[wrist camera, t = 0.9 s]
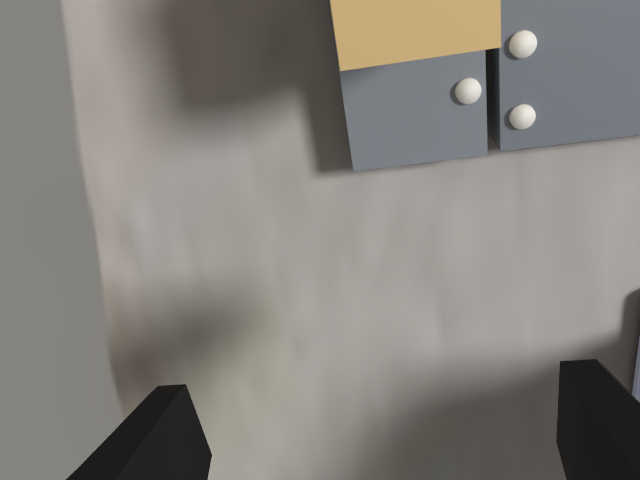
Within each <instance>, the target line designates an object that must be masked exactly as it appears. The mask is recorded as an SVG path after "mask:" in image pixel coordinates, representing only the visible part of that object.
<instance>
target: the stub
mask: <svg viewBox="0 0 640 480" xmlns="http://www.w3.org/2000/svg"><path fill="white" fill-rule="evenodd" d="M329 5H330V12H331V19H332V26H333V33H334V40H335V47H336V54H337V61H338V68H339V75H340V82H341V89H342V96H343V102H344V109H345V116H346V123H347V130H348V137H349V144H350V151H351V158H352V165H353V171H361V170H369V169H378V168H386V167H395V166H403V165H412V164H420V163H428V162H437V161H445V160H454V159H462V158H471V157H479V156H488V144H487V101H486V58H485V50H487V49H493V48H500V47H501V0H329Z"/></svg>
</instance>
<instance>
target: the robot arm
mask: <svg viewBox="0 0 640 480" xmlns="http://www.w3.org/2000/svg"><path fill="white" fill-rule="evenodd" d="M557 445H558V449H559V453H560V456H561V460H562V464H563V468H564V471H565V475H566V478H567V480H640V337H639V344H638V352H637V360H636V367H635V375H634V382H633V390H632V394H631V393H630V392H629V391H628V390H627V389H626V388H625V387H624V386H623V385H622V384H621V383H620V382H619V381H618V380H617V379H616V378H615V377H614V376H613V375H612V374H611V373H610V372H609V371H608V370H607V369H606V368H605V367H604V366H603V365H602V364H601V363H600V362H599V361H598V360H596V359H591V360H575V361H560V376H559V398H558V420H557ZM211 457H212V454H211V451H210V448H209V446H208V443H207V440H206V438H205V435H204V432H203V429H202V427H201V424H200V421H199V419H198V416H197V413H196V410H195V408H194V405H193V402H192V400H191V397H190V394H189V391H188V389H187V386H186V384H184V385H167V386H158V387H157V388H155V389H154V390H153V391H152V392H151V393H150V394H149V395H148V396H147V397H146V398H145V399H144V400H143V401H142V402H141V403H140V405H139V406H138V407H137V408H136V409H135V410H134V411H133V412H132V413H131V414H130V415H129V416H128V417H127V418H126V419H125V420H124V421H123V422H122V423H121V424H120V425H119V427H118V428H117V429H116V430H115V431H114V432H113V433H112V434H111V435H110V436H109V437H108V438H107V439H106V440H105V441H104V442H103V443H102V444H101V445H100V446H99V447H98V448H97V449H96V450H95V451H94V452H93V453H92V454H91V455H90V456H89V457H88V458H87V460H86V461H84V462H83V464H82V465H81V466H80V467H79V468H78V469H77V470H76V471H75V472H74V473H73V474H71V475H70V476H69V477H68V478H67V479H66V480H207V479H208V473H209V468H210V462H211Z"/></svg>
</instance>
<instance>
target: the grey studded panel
mask: <svg viewBox="0 0 640 480" xmlns="http://www.w3.org/2000/svg"><path fill="white" fill-rule="evenodd" d="M492 96H493V139H494V141H495V143H496V144H497V146H498V148H499V150H500V152H501V151H509V150H517V149H526V148H534V147H543V146H551V145H559V144H568V143H576V142H585V141H593V140H601V139H610V138H618V137H627V136H635V135H640V0H501V47H500V48H493V49H492Z"/></svg>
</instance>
